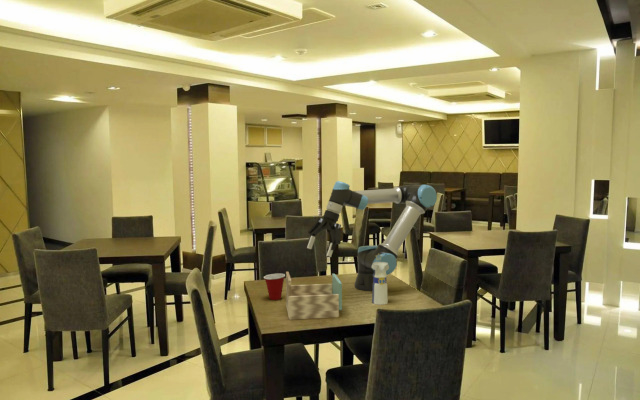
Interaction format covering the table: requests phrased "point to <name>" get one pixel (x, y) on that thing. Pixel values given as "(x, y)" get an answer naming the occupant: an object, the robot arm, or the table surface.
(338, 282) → the teal flat panel
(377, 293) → the blue-banded white tube
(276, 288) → the plastic cup
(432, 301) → the table surface
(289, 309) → the crate
